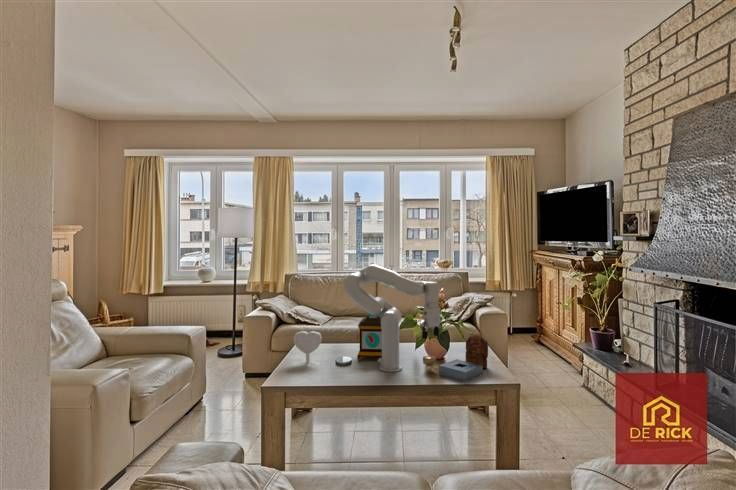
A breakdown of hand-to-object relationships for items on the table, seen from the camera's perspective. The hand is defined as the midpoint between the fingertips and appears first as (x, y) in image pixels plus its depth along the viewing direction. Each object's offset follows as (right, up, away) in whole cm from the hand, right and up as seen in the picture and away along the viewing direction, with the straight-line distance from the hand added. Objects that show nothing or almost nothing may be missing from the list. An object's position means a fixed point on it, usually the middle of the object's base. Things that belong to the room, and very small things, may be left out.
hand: (430, 337), depth 224 cm
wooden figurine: (+26, -19, +7) cm, 33 cm away
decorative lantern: (-30, -18, +27) cm, 44 cm away
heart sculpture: (-68, -19, +16) cm, 72 cm away
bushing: (-1, -18, 0) cm, 18 cm away
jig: (+15, -18, -6) cm, 24 cm away
